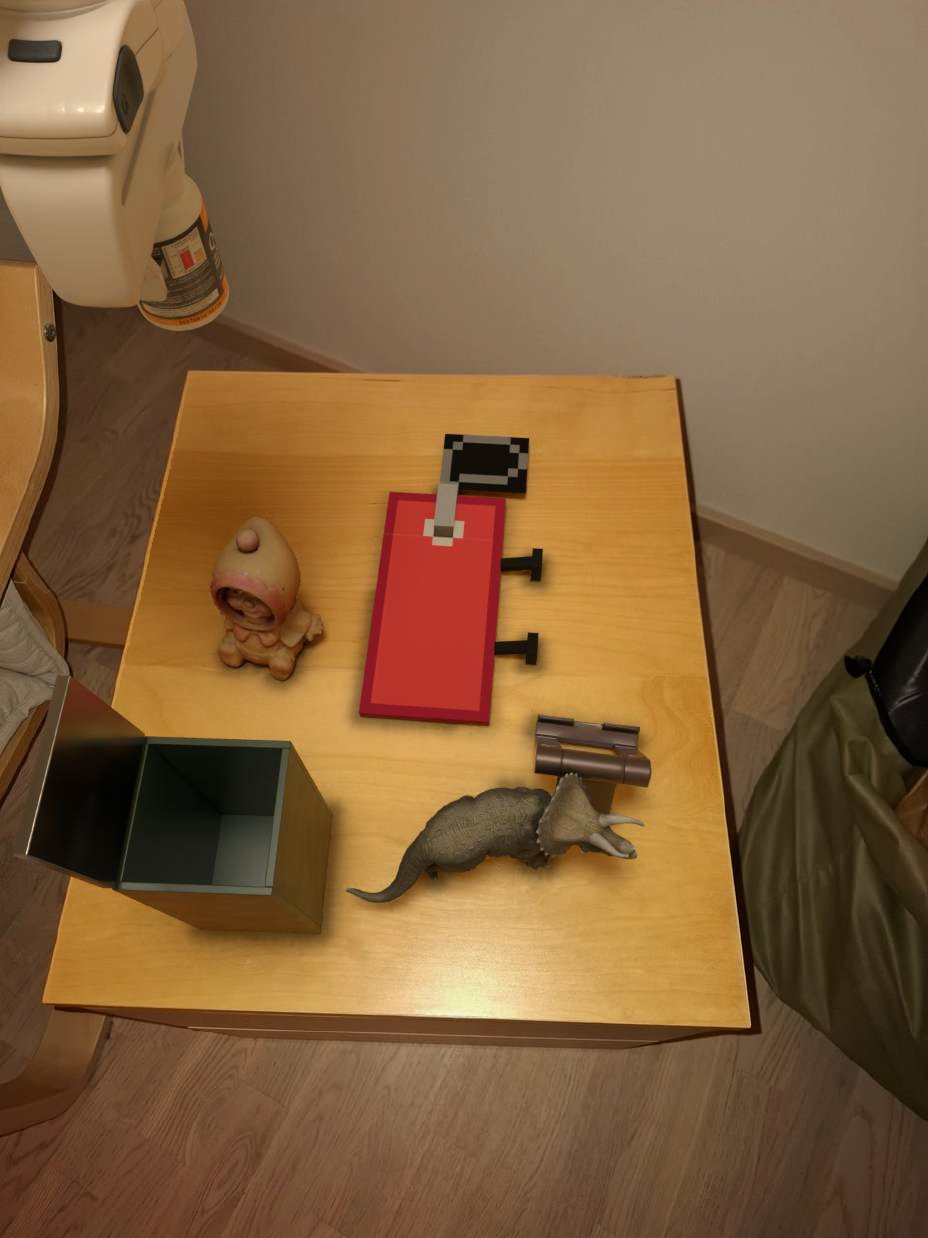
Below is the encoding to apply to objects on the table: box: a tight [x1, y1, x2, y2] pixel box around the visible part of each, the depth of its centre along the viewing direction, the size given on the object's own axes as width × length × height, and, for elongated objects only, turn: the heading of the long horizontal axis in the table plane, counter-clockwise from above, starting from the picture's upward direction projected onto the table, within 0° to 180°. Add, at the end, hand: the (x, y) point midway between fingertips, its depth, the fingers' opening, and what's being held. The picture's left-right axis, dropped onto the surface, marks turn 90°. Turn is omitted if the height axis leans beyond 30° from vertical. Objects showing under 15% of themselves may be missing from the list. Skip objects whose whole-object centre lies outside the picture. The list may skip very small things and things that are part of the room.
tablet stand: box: [533, 714, 653, 815], centre depth 72 cm, size 9×8×8 cm
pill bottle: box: [136, 143, 230, 332], centre depth 52 cm, size 6×6×10 cm
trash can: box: [111, 735, 333, 935], centre depth 64 cm, size 10×10×20 cm
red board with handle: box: [358, 433, 544, 726], centre depth 83 cm, size 30×3×15 cm
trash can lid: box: [12, 674, 146, 890], centre depth 50 cm, size 10×10×1 cm
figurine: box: [209, 515, 325, 682], centre depth 76 cm, size 10×8×15 cm
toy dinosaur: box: [345, 773, 646, 904], centre depth 68 cm, size 22×8×11 cm, turn 96°
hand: (165, 247), depth 52 cm, fingers closed on pill bottle, 6 cm apart
